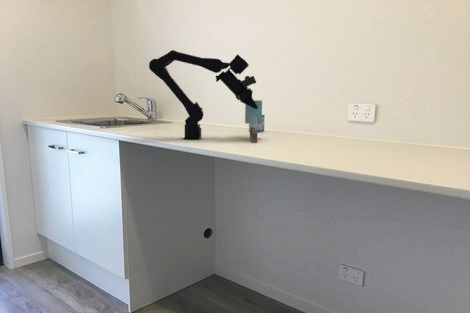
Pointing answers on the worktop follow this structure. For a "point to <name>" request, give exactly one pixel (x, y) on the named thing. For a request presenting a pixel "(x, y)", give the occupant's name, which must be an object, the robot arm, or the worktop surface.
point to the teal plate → (254, 112)
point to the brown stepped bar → (253, 135)
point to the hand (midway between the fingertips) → (256, 108)
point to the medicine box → (256, 124)
